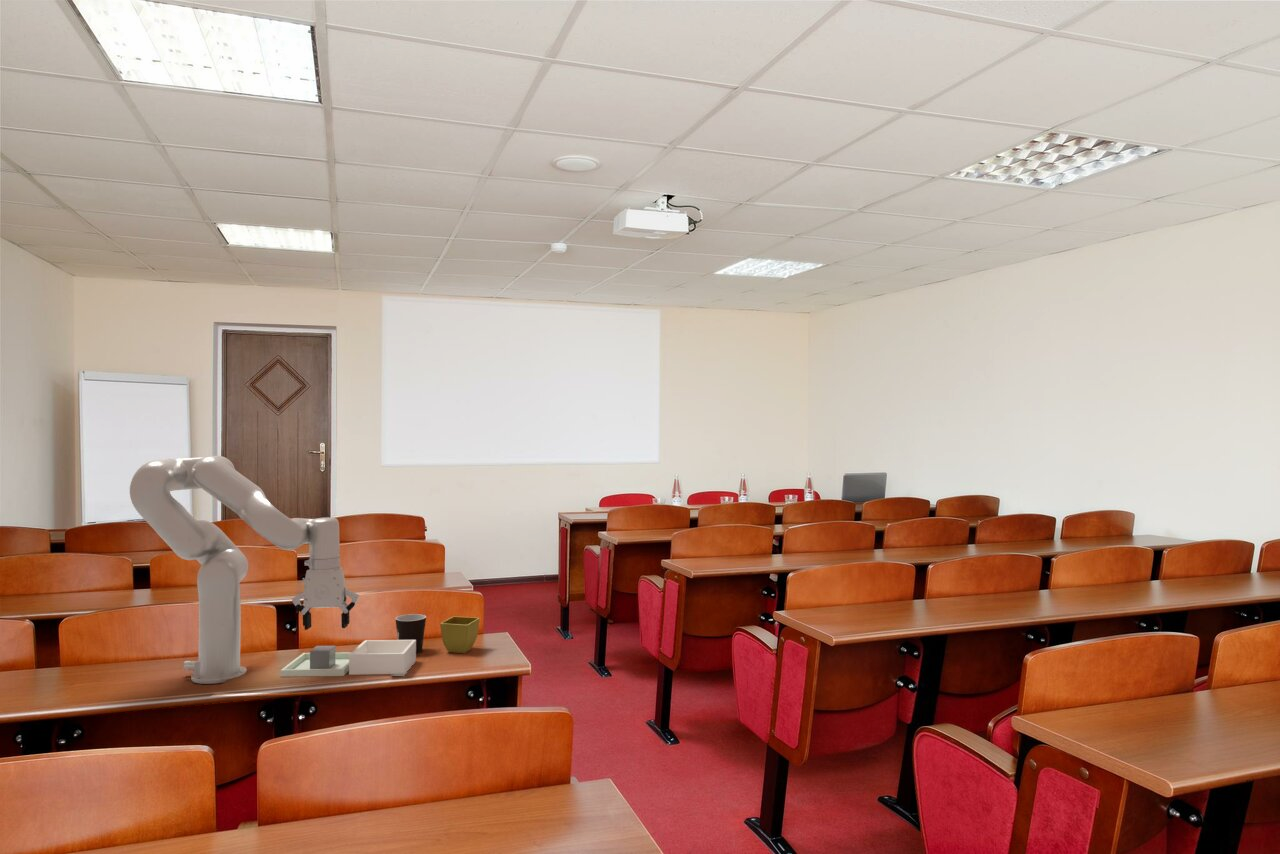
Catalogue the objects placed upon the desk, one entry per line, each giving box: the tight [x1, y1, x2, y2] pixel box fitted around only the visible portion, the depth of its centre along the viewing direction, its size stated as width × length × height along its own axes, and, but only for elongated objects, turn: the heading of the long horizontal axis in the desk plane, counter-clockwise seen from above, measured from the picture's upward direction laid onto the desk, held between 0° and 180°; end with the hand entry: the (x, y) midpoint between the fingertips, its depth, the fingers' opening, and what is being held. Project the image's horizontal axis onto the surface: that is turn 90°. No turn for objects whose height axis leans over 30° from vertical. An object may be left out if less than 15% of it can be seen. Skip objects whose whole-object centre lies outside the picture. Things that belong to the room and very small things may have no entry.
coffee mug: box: [395, 613, 427, 655], centre depth 226 cm, size 12×9×10 cm
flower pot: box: [440, 615, 480, 654], centre depth 226 cm, size 9×9×9 cm
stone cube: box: [309, 645, 337, 669], centre depth 206 cm, size 5×5×5 cm
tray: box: [279, 651, 352, 678], centre depth 206 cm, size 16×16×2 cm
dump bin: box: [348, 639, 417, 677], centre depth 207 cm, size 14×14×6 cm
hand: (326, 627), depth 207 cm, fingers open, 9 cm apart
